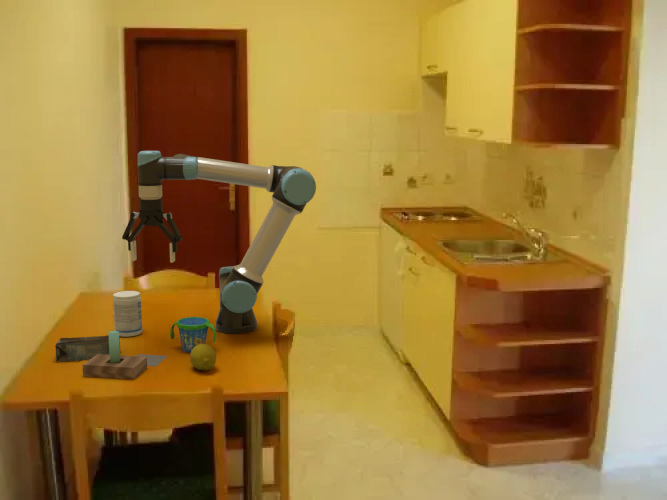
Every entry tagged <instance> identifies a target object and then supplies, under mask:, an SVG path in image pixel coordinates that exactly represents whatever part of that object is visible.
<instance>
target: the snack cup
mask: <svg viewBox="0 0 667 500" xmlns="http://www.w3.org/2000/svg"><path fill="white" fill-rule="evenodd" d="M175 326H177V329H178V334H179V340H180V345H181V349H182V351H183V352H184V353H189V354H191V351H192V349H193V348H194V347H195V346H197V345H199V344H207V338H208V330H209V328H210V330H211V332H212V333H213V338H212V343H213V344H214V343H215V342H216V340H217V337H218V336H217V330H216V326H214V325H213V324H212V323H211V322H210V320H209V319H208V318H206V317H202V316H187V317H183V318H182V317H181V318H180V319H178V320H176V321H175V322H174V323H173V324H172V325H171V326H170V331H169V335H170V339H171V340H174V339H175V335H176V334H175V331H174V330H175Z"/></svg>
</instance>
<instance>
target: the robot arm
mask: <svg viewBox="0 0 667 500" xmlns="http://www.w3.org/2000/svg"><path fill="white" fill-rule="evenodd" d="M137 179H138V180H137V181H138V182H137V183H138V197H139V199H138V201H139V202H138V203H139V205H138V206H139V212H137V211H132V212H130V216H129V221H128V222H127V225H126V227H125V230H124V232H123V235H122V236H121V239H122V240H125V241H127V248H128V251H129V252H130V258H131V259H130V260H131V262H134V261H137V260H138V259H137V257H138V255H137V240H135V238H136V237H137V236H138V234H139V233H140V232H141V231H142V229H143V228H144V227H145V226H146V227H158V228H159V229H160V230H161V231H162V232H163V234H164V235H165V236H166V238H167V239H168V240H170V242H169V263H174V262H176V253H178V242H181V241H183V239H184V238H183V236H182V233H181V232H180V229H179V228H178V226H177V224H176V222H175V220H174V214H173V213H172V212H168V213H164V211H163V210H164V206H163V205H164V204H163V198H162V197H163V183H162V182H163V180H164V181H167V180H173V181H175V180H176V181H178V180H179V181H181V180H182V181H183V180H184V181H185V180H186V181H191V180H197V179H198V180H204V181H211V182H218V183H226V184H231V185H239V186H246V187H252V188H259V189H264V190H266V191H267V192H268V193H273V194H272V195H271V200H272V205H271V207H270V209H268V212H267V214H266V216H265V217H264V220H263V222H262V223H261V225H260V227H259V228H258V230H257V233H256V234H255V236H254V238H253V240H252V241H251V243H250V246H249V247H248V248H247V251H246V253H245V255H244V256H243V258H242V261H241V262H240V263H239V264H237V265H233V266H232V265H230V266H222V267H220V268H219V274H218V277H219V279H218V280H219V309H218V313H217V317H216V321H215V330H216V332H218V333H219V332H220V333H223V334H232V335H237V334H245V333H246V332H247V333H250V331H251V332H253V330H254V331H255V330H257V329H258V321H257V318H256V314H255V312H254V309H253V307H254V306H255V304H256V303H257V299H258V293H259V292H260V290H261V288H262V286H263V285H264V278H263V275H264V273H265V271H266V270H267V267H268V265H269V264H270V263H271V261H272V258H273V257H274V255H275V253H276V251H277V250H278V248H279V246H280V245H281V242H282V240H283V238H284V237H285V235H286V233H287V231H288V229H289V227H290V225H291V224H292V222H293V221H294V219H295V217H296V216H297V215H300V214H302V213H303V211H304V209H305V207H307V206H306V205H307V204H308V203H309V202H311V200H312V199H313V198H314V196H315V194H316V191H317V184H316V181H315V178H314V176H313V175H312V173H311V172H309V171H308V170H306V169H304V168H302V167H299V166H295V165H293V166H292V165H288V166H287V165H286V166H285V165H274V164H271V165H270V166H269V167H267V166H260V165H255V164H248V163H241V162H233V161H228V160H220V159H213V158H208V157H207V158H206V157H199V156H194V155H193V156H192V155H188V154H185V153H178V154H177V153H176V154H175V155H174V156H162V152H161V151H160V150H141V151H139V152H138V153H137ZM138 218H139V219H140V222H139V223H138V224H137V226H136V227H135V228H134V226H135V223H136V221H137V219H138ZM163 219H165V220H166V221H167V224H168V225H169V227H170V229H171V230H170V229H169V227H168V226H167V225H166V223H165V222H164V220H163ZM133 228H134V230H133ZM132 230H133V231H132Z"/></svg>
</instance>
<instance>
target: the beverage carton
mask: <svg viewBox="0 0 667 500" xmlns="http://www.w3.org/2000/svg"><path fill="white" fill-rule="evenodd" d="M119 345H120V346H121V341H120V338H119ZM54 347H55V360H56V362H57V361H62V362H81V361H84V360H87V361H88V360H90V359H91V358H93V357H94V356H96V355H97V354H106V355H110V353H109V334H108V335H99V336H80V337H79V336H78V337H76V336H75V337H60V338H59V340H58V341H57V342H56V343H55V345H54Z"/></svg>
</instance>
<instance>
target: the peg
mask: <svg viewBox="0 0 667 500" xmlns="http://www.w3.org/2000/svg"><path fill="white" fill-rule="evenodd" d="M108 335H109V353H110V363H117V364H119V363H120V355H121V344H120V345H119V339H120V336H119V331H115V330H111V331H108Z"/></svg>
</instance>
